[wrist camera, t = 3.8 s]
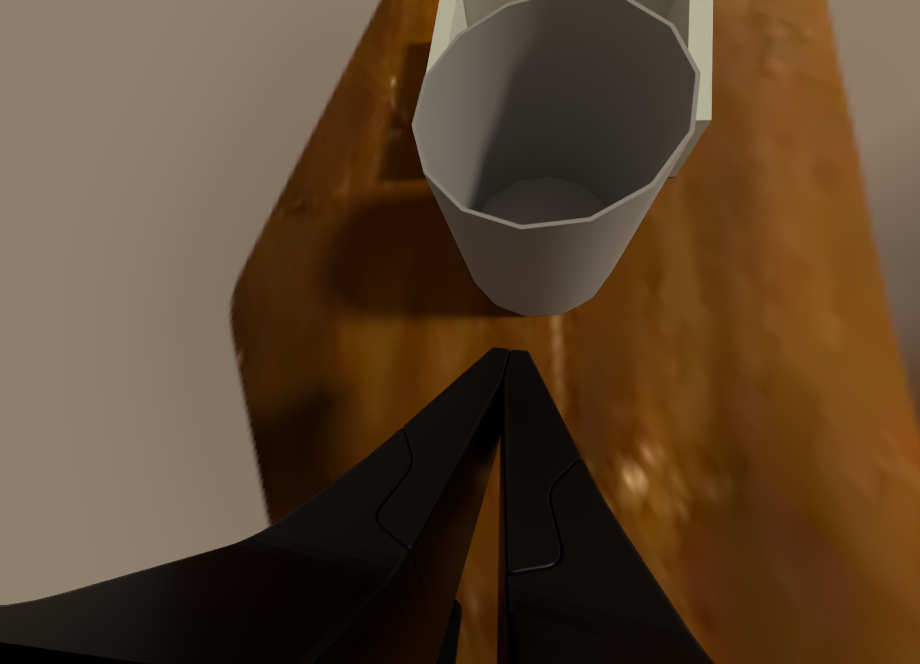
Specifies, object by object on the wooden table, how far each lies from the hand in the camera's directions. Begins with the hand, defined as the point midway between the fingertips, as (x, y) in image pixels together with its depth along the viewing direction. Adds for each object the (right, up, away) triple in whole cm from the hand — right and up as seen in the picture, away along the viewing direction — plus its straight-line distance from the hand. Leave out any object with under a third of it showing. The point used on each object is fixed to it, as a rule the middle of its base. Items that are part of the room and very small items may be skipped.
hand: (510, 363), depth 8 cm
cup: (+3, +6, +12) cm, 14 cm away
